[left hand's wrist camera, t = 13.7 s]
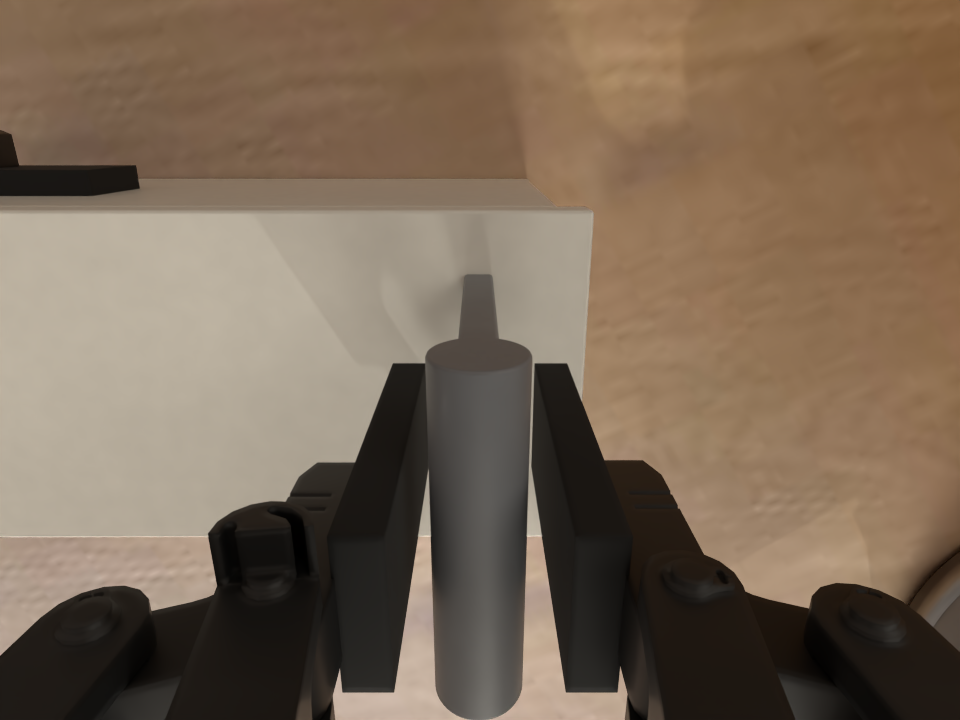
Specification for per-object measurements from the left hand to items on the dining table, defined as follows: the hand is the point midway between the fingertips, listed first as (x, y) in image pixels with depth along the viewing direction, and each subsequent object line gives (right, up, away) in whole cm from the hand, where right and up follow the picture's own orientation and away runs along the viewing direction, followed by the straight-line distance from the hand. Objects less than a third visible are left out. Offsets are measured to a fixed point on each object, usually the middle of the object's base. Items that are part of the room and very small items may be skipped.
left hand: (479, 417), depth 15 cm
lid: (-6, +1, +2) cm, 7 cm away
